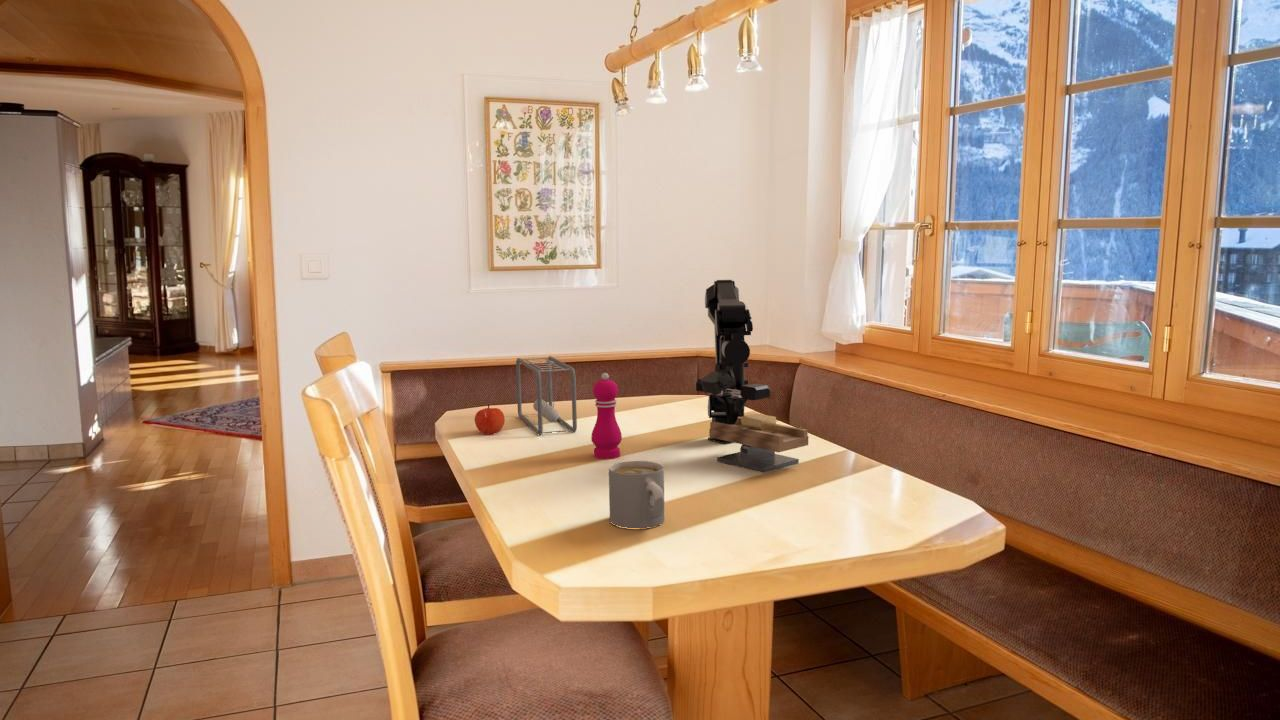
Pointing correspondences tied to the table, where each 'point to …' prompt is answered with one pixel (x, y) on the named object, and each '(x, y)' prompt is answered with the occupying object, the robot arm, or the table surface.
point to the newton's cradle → (541, 405)
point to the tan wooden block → (759, 422)
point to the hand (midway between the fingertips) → (732, 424)
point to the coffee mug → (636, 494)
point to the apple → (489, 420)
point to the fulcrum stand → (757, 459)
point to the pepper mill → (606, 420)
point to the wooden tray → (760, 436)
